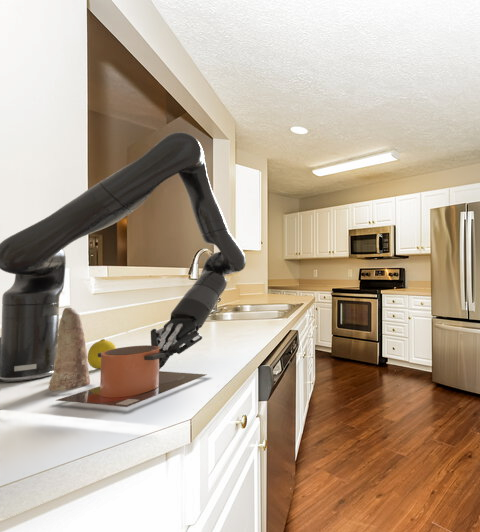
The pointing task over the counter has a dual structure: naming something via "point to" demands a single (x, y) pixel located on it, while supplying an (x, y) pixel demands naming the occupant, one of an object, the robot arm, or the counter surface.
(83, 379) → the tapered standing stone
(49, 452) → the counter surface
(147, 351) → the pot
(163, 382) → the hob
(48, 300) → the robot arm
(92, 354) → the lemon
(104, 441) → the counter surface
